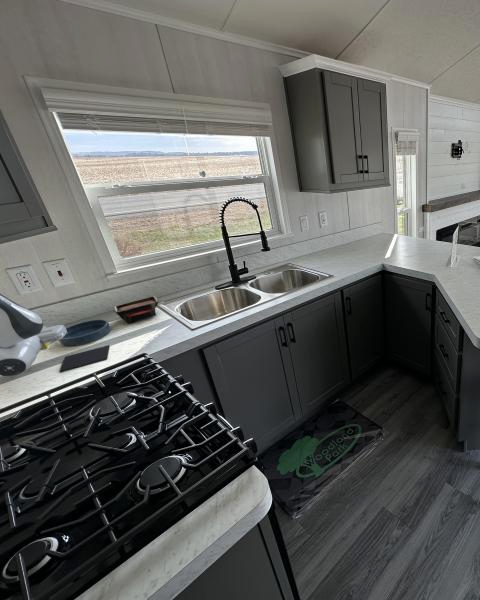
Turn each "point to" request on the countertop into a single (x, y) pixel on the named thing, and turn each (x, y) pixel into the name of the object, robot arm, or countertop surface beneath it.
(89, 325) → the bowl
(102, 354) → the drying mat
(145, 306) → the baking dish
